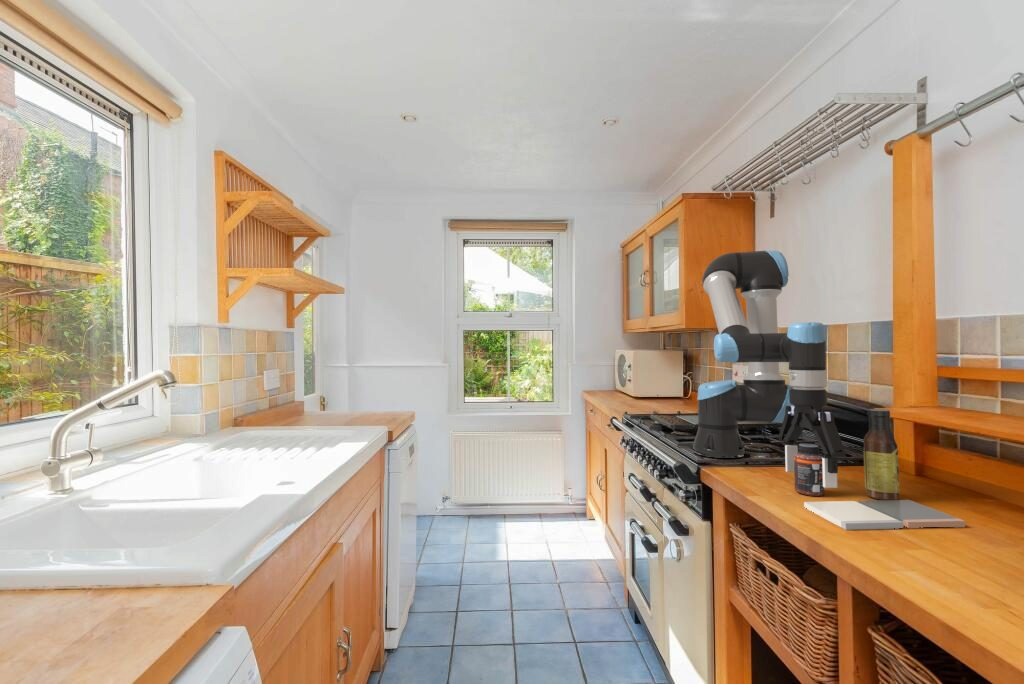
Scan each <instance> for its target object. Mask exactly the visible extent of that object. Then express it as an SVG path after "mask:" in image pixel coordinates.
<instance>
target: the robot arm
mask: <svg viewBox="0 0 1024 684" xmlns="http://www.w3.org/2000/svg"><path fill="white" fill-rule="evenodd" d="M789 275H790V273H789V266H788V262H787V259H786V257H785V256H784V255H783V253H782V252H780V251H778V250H765V249H764V250H759V251H758V250H756V251H755V250H754V251H744V252H743V251H742V252H741V251H740V252H728V253H724V254H722V255H719V256H717V257H716V258H715V259H713V260H712V261H711V262H710V263H709V264H708V265H707V267H706V268H705V270H704V272H703V275H702V279H701V281H702V287H703V290H704V293H706V294H707V295H708V297H709V301H710V304H711V307H712V308H711V309H712V311H713V316H714V320H715V323H716V327H717V331H718V334H716V335H715V336H714V338H713V339H714V341H713V351H714V352H713V354H714V358H715V360H716V361H718V362H721V363H730V364H731V363H732V364H733V363H747V370H748V371H747V372H748V373H747V374H746V375H745V377H744V378H743V382H742V383H743V384H739V383H738V381H737V380H735V379H727V380H715V381H708V382H704V383H701V384H700V385H699V386H698V388H697V398H696V400H697V411H698V413H697V417H698V418H697V420H698V422H697V424H698V426H697V427H698V428H697V432H696V435H695V437H694V441H693V444H692V450H693V449H694V450H695V451H698V452H700V453H703V454H706V455H709V456H717V457H721V456H728V457H730V456H731V457H732V456H738V455H744V454H745V447H744V444H743V441H742V438H741V435H740V433H739V424H738V423H739V422H740V423H741V422H745V423H747V422H748V423H768V424H773V423H782V425H781V427H780V431H779V433H778V440H779V441H782V444H783V445H784V455H785V456H784V458H785V459H784V460H785V461H784V462H785V463H784V464H785V472H786V473H794V456H795V454H796V453H798V452H799V443H798V442H797V441H798V439H799V438H800V436H801V434H802V432H803V431H804V429H807V430H809V431H810V432H812V434H813V436H814V437H815V439H816V440H817V443H818V446H819V448H821V451H822V452H823V455H822V456H823V457H822V469H823V487H825V488H824V489H828V488H829V489H831V488H837V489H838V472H839V466H838V465H839V464H838V463H839V462H838V460H839V458H844V457H845V458H846V455H847V454H846V451H845V448H844V446H843V443H842V439H841V436H840V434H839V431H838V428H837V425H836V423H835V414H834V412H833V411H823V407H825V406H827V405H828V391H827V390H826V389H825V388H826V387H828V380H827V379H828V378H827V377H828V375H827V373H828V371H827V336H826V327H825V325H824V323H822V322H794V323H790V324H789V325H788V327H787V332H779V331H778V330H779V329H778V327H779V326H778V306H777V305H778V304H777V303H778V302H777V298H778V297H779V296H780V295H781V293H782V289H783V288H784V287H786V286H787V285H788V282H789ZM736 289H738V290H740V296H741V297H743V298H744V299H745V308H746V310H745V311H746V315H745V313H744V310H743V307H742V305H741V301H740V299H739V295H738V292H737V290H736ZM780 363H788V370H789V372H788V380H789V381H788V383H789V384H787V383H786V378H784V377H783V376H782V375H781V374H780Z"/></svg>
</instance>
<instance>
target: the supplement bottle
mask: <svg viewBox="0 0 1024 684" xmlns="http://www.w3.org/2000/svg"><path fill="white" fill-rule="evenodd" d="M822 457H823V455H821V454H820V445H819V444H818V445H817V444H814V443H798V453H796V454H795V456H794V472H793V473H794V475H793V477H794V490H795V492H797V493H798V494H800V493H801V494H800V495H803V496H804V495H805V496H808V497H810V496H811V497H820V496H824V495H825V491H826V490H825V489H826V488H825V487H823V469H822Z"/></svg>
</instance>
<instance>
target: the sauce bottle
mask: <svg viewBox="0 0 1024 684" xmlns="http://www.w3.org/2000/svg"><path fill="white" fill-rule="evenodd" d="M890 412H891V411H890V410H889V409H884V408H883V409H882V408H869V409H867V417H868V431H867V433H866V434H865V435H864V437H863V451H862V453H863V470H864V472H863V473H864V486H865V487H864V488H865V493H866V496H868V497H870V498H872V499H875V500H900V493H901V487H900V485H901V484H900V469H899V467H900V466H899V465H900V463H899V447H898V444H897V442H896V439H895V437H894V435H893V432H892V430H891V427H890V426H891V425H890V417H891V413H890Z"/></svg>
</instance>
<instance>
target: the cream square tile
mask: <svg viewBox="0 0 1024 684" xmlns="http://www.w3.org/2000/svg"><path fill="white" fill-rule="evenodd" d="M804 507H805V508H804ZM803 508H804V509H806V508H807V509H806V510H808V511H810V512H811V511H812V513H813V512H814V515H815V514H816V515H818V516H819V517H821V518H822V519H825V520H826V521H829V522H830V523H832V524H835V525H836V526H837V527H840V528H841V529H843V530H845V531H852V530H853V531H854V530H855V531H857V530H900V529H899V528H903V529H904V526H903V522H901V521H899V520H897V519H894V518H892V517H890V516H888V515H885V514H883V513H881V512H878V511H876V510H874V509H872V508H869V507H867V506H865V505H863V504H860V503H859V501H855V500H841V501H840V500H839V501H838V500H837V501H834V500H833V501H831V500H830V501H829V500H828V501H803ZM894 528H895V529H894Z"/></svg>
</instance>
